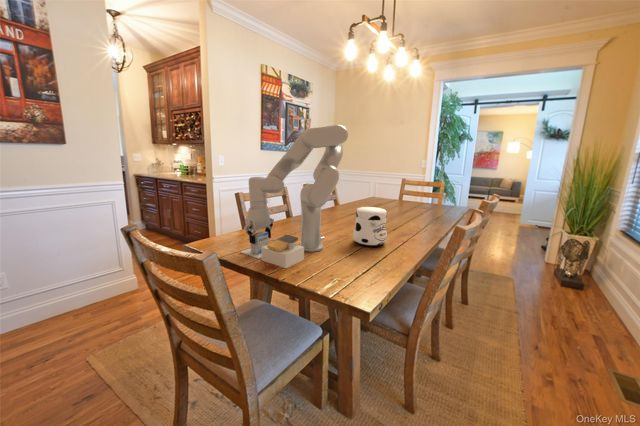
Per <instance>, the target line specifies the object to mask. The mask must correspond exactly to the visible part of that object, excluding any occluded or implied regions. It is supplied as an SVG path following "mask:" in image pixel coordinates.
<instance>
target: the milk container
mask: <svg viewBox="0 0 640 426" xmlns="http://www.w3.org/2000/svg"><path fill="white" fill-rule="evenodd" d="M387 212H388V211H387V210H386V209H385V208H381V207H372V206H361V207H360V206H359V207H357V209H356V212H355V225H354V229H353V231H352V234H353V235H352V236H353V240H354V242H356V243H357V244H359V245H361V246H366V247H379V246H380V247H381V246H382V245H384V244H385V243H386V241H387V237H388V233H387V229H386V227H387V216H388V214H387Z"/></svg>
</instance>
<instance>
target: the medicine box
mask: <svg viewBox="0 0 640 426" xmlns="http://www.w3.org/2000/svg"><path fill="white" fill-rule="evenodd" d="M254 235H255V244H252V243H250V248H251V252H252V253H256V254H260V253H262V247H263V246H266V245H269V238H268V232H265V230H261V231H260V230H259V231H258V232H257V231H256V232H255V234H254Z"/></svg>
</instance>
